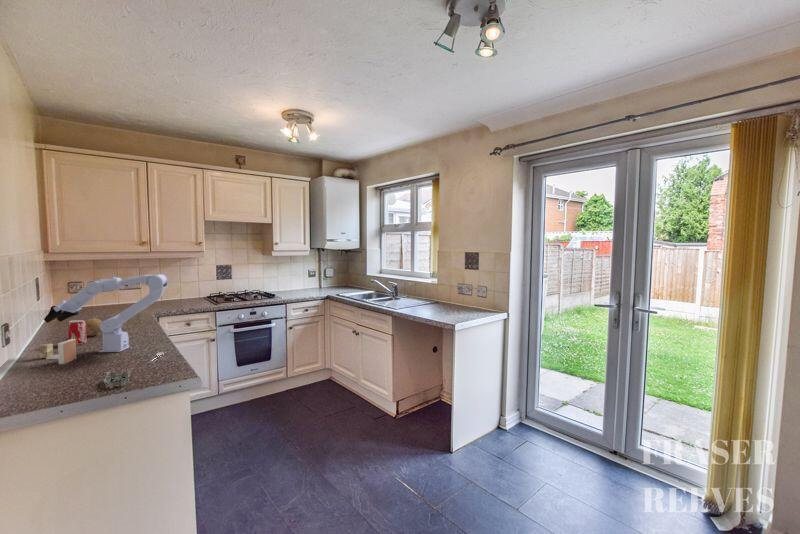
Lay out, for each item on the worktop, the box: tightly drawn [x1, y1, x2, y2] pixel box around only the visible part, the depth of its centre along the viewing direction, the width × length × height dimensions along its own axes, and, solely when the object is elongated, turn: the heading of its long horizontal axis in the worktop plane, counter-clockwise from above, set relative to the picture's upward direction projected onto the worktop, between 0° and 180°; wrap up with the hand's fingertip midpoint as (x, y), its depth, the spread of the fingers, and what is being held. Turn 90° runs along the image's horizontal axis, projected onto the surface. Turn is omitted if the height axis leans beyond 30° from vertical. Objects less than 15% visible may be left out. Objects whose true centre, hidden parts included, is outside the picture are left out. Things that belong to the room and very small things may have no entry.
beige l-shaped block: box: [38, 343, 59, 360], centre depth 159 cm, size 10×5×6 cm, turn 97°
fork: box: [151, 351, 165, 361], centre depth 155 cm, size 3×20×2 cm, turn 15°
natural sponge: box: [84, 317, 103, 337], centre depth 195 cm, size 9×9×10 cm
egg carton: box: [103, 369, 132, 388], centre depth 132 cm, size 11×8×4 cm
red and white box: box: [67, 319, 88, 346], centre depth 180 cm, size 7×7×12 cm
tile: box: [57, 339, 77, 365], centre depth 154 cm, size 2×7×9 cm, turn 7°
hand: (52, 320), depth 163 cm, fingers open, 7 cm apart
